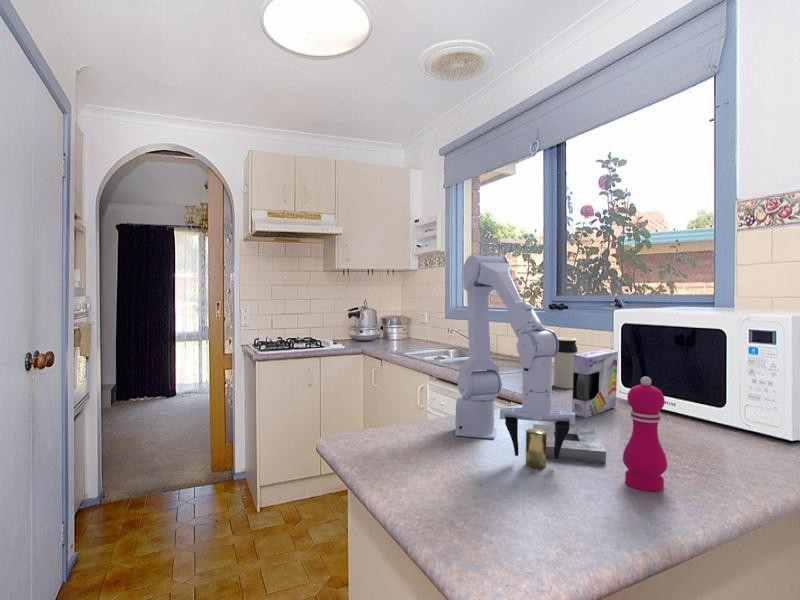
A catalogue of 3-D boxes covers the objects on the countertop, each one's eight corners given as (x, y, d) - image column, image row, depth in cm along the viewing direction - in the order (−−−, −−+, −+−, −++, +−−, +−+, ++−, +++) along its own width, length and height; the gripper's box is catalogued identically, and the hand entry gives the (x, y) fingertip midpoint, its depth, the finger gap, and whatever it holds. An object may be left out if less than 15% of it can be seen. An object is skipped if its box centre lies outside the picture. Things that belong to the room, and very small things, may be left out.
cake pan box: (585, 419, 126) (586, 355, 126) (568, 415, 130) (569, 353, 130) (618, 408, 138) (619, 350, 138) (602, 405, 142) (603, 348, 142)
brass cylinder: (525, 468, 91) (526, 433, 91) (525, 461, 95) (526, 428, 95) (546, 470, 90) (547, 435, 90) (545, 463, 94) (546, 429, 94)
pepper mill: (662, 479, 86) (664, 374, 86) (671, 495, 79) (673, 381, 79) (619, 474, 88) (621, 372, 88) (625, 489, 82) (627, 378, 81)
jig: (535, 456, 97) (535, 445, 97) (533, 434, 113) (533, 424, 113) (605, 463, 94) (606, 451, 94) (593, 439, 109) (593, 428, 109)
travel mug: (580, 389, 164) (580, 339, 164) (558, 389, 165) (558, 339, 164) (572, 384, 172) (572, 337, 172) (551, 384, 173) (551, 337, 172)
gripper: (499, 391, 90) (498, 459, 91) (577, 396, 87) (576, 467, 87) (500, 384, 97) (500, 447, 97) (573, 388, 93) (572, 454, 94)
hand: (536, 456), depth 93 cm, fingers open, 7 cm apart
